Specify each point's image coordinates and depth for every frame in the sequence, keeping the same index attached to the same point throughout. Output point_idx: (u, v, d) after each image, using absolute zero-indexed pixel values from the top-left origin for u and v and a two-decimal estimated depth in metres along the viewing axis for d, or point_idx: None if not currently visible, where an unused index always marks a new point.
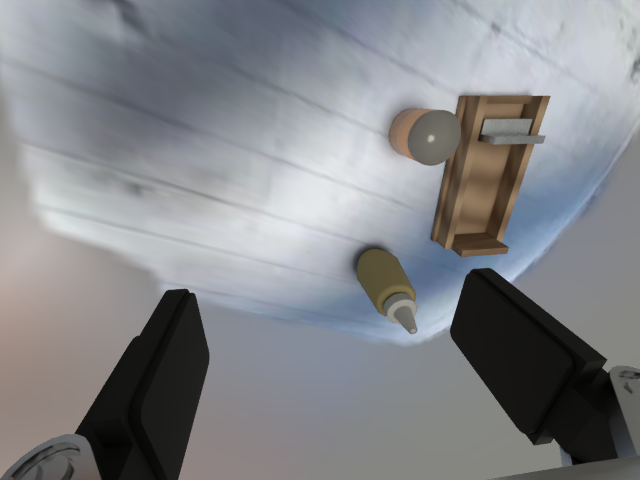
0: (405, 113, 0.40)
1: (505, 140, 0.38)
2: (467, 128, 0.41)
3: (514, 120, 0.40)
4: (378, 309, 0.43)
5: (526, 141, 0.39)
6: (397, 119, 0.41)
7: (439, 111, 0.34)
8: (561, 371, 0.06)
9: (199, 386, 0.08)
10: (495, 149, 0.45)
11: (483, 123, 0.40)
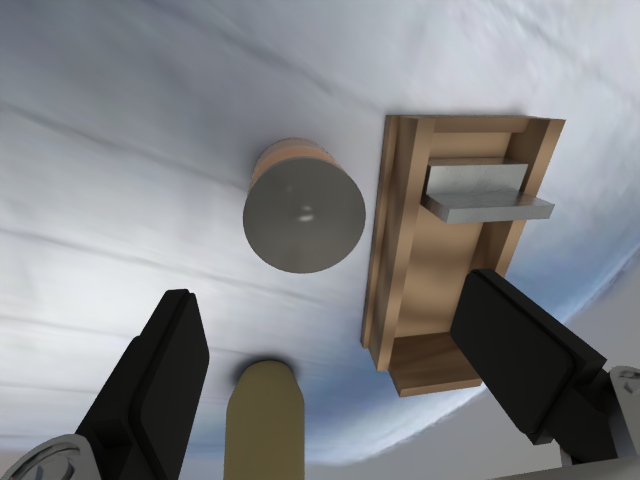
0: (268, 151, 0.19)
1: (470, 215, 0.18)
2: (400, 180, 0.21)
3: (492, 167, 0.20)
4: None
5: (515, 216, 0.18)
6: (258, 161, 0.20)
7: (301, 163, 0.14)
8: (561, 371, 0.06)
9: (199, 386, 0.08)
10: None
11: (429, 173, 0.20)
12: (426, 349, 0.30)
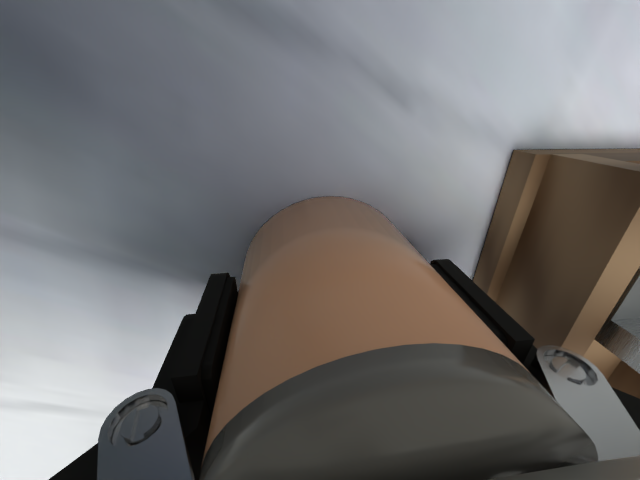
0: (276, 235, 0.09)
1: None
2: (548, 286, 0.10)
3: None
4: None
5: None
6: (252, 250, 0.09)
7: (423, 423, 0.03)
8: None
9: None
10: None
11: None
12: None
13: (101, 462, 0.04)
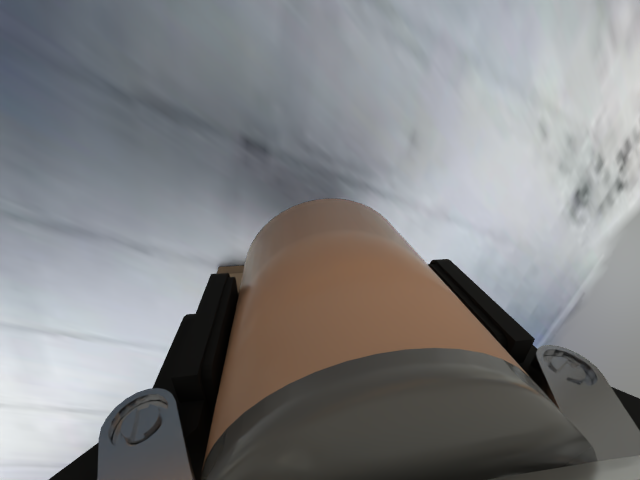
0: (276, 237, 0.09)
1: None
2: None
3: None
4: None
5: None
6: (252, 252, 0.09)
7: (423, 429, 0.03)
8: None
9: None
10: None
11: None
12: None
13: (101, 462, 0.04)
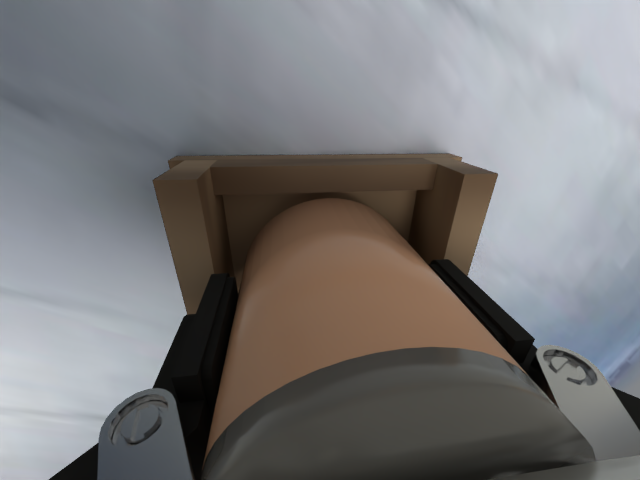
0: (276, 237, 0.09)
1: None
2: None
3: None
4: None
5: None
6: (253, 252, 0.09)
7: (421, 427, 0.03)
8: None
9: None
10: None
11: None
12: None
13: (101, 462, 0.04)
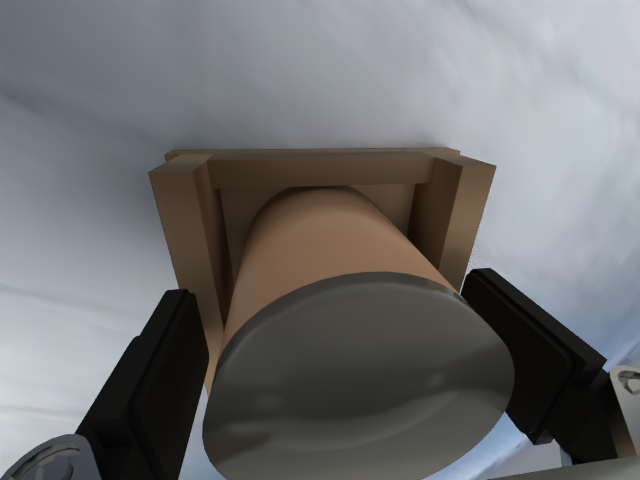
0: (273, 211, 0.10)
1: None
2: None
3: None
4: None
5: None
6: (253, 226, 0.11)
7: (370, 312, 0.05)
8: (561, 371, 0.06)
9: (199, 386, 0.08)
10: None
11: None
12: None
13: None
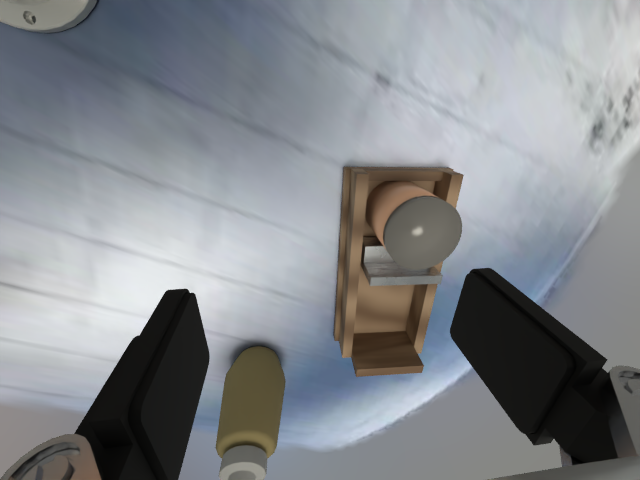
0: (385, 188, 0.29)
1: (385, 281, 0.28)
2: (351, 212, 0.29)
3: None
4: (222, 458, 0.30)
5: (416, 282, 0.29)
6: (374, 194, 0.29)
7: (428, 200, 0.23)
8: (561, 371, 0.06)
9: (199, 386, 0.08)
10: None
11: (365, 250, 0.30)
12: (383, 343, 0.37)
13: None
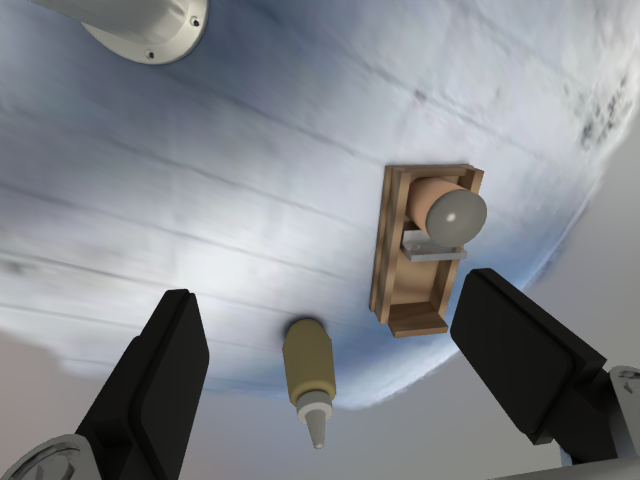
0: (421, 183, 0.35)
1: (423, 258, 0.35)
2: (393, 203, 0.36)
3: None
4: (293, 404, 0.37)
5: (446, 257, 0.36)
6: (412, 188, 0.36)
7: (463, 193, 0.30)
8: (561, 371, 0.06)
9: (199, 386, 0.08)
10: None
11: (403, 234, 0.37)
12: (413, 311, 0.45)
13: None
